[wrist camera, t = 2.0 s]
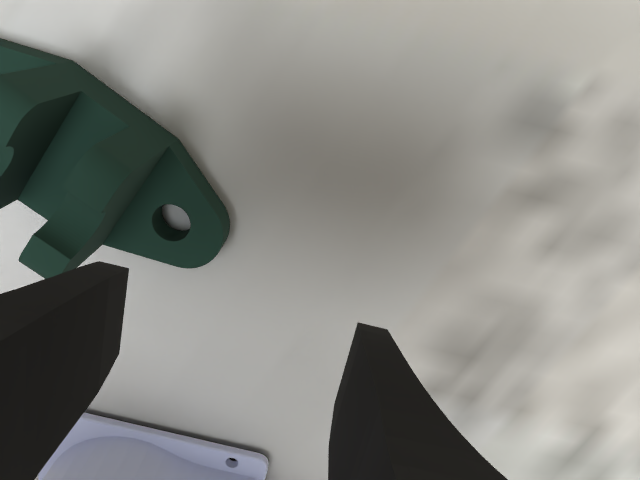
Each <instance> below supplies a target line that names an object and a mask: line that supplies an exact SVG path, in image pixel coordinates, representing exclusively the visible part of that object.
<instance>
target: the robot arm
mask: <svg viewBox="0 0 640 480" xmlns="http://www.w3.org/2000/svg"><path fill="white" fill-rule="evenodd" d="M128 272H129V268H125V267H121V266H117V265H112V264H108V263H104V262H100V261H99V262H95V263H91V264H88V265H84V266H81V267H78V268H75V269H73V270H70V271H67V272H64V273H61V274H58V275H56V276H53V277H50V278H47V279H44V280H41V281H38V282H36V283H33V284H30V285H27V286H24V287H21V288H18V289H15V290H12V291H9V292H5V293H2V294H0V480H34V479H35V478H36V477H37V475H38V480H265V478H266V474H267V470H268V466H269V461H268V459H267V458H266V457H265V456H264V455H263V454H260V453H256V452H252V451H248V450H244V449H239V448H235V447H231V446H226V445H222V444H218V443H213V442H209V441H205V440H201V439H196V438H192V437H188V436H183V435H179V434H175V433H170V432H166V431H162V430H157V429H153V428H149V427H145V426H140V425H136V424H132V423H127V422H123V421H119V420H114V419H110V418H106V417H102V416H97V415H93V414H89V413H84V412H85V410H86V409H87V407H88V406H89V405H90V403H91V402H92V401H93V399H94V398H95V396H96V395H97V393H98V392H99V390H100V388H101V386H102V385H103V383H104V381H105V379H106V377H107V376H108V374H109V372H110V370H111V368H112V366H113V364H114V362H115V360H116V358H117V356H118V355H119V350H120V341H121V333H122V324H123V315H124V307H125V298H126V290H127V281H128ZM229 458H234V459H236V460H237V461H232V460H230V459H229ZM328 480H507V479H506V478H505V477H504V476H503V475H502V474H501V473H500V472H498V471H497V470H496V469H495V468H494V467H493V466H492V465H491V464H490V463H489V462H488V461H487V460H486V459H485V458H483V457H482V456H481V455H480V454H479V453H478V451H477V450H476V449H475V448H474V447H473V446H472V445H471V444H470V443H469V442H468V441H467V440H466V439H465V438H464V437H463V436H462V435H461V433H460V432H459V431H458V430H457V429H456V428H455V427H454V426H453V424H452V423H451V422H450V421H449V420H448V418H447V417H446V416H445V415H444V413H443V412H442V411H441V410H440V408H439V407H438V406H437V404H436V403H435V402H434V401H433V399H432V398H431V397H430V395H429V394H428V392H427V391H426V390H425V388H424V387H423V385H422V384H421V383H420V381H419V380H418V378H417V377H416V375H415V374H414V372H413V371H412V369H411V367H410V366H409V364H408V363H407V361H406V360H405V358H404V356H403V355H402V353H401V351H400V350H399V348H398V346H397V345H396V343H395V341H394V340H393V338H392V336H391V335H390V333H389V332H388V330H387V329H383V328H379V327H374V326H370V325H366V324H362V323H358V324H357V327H356V331H355V334H354V338H353V341H352V345H351V348H350V352H349V355H348V359H347V362H346V366H345V369H344V373H343V376H342V379H341V383H340V386H339V390H338V393H337V397H336V400H335V404H334V411H333V418H332V425H331V433H330V441H329V462H328Z"/></svg>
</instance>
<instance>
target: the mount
mask: <svg viewBox="0 0 640 480" xmlns="http://www.w3.org/2000/svg"><path fill="white" fill-rule="evenodd" d="M17 199H18V200H19V201H21V202H22V203H23V204H25V205H26V206H28V207H29V208H31V209H32V210H34V211H35V212H37V213H38V214H40V215H41V216H42V217H44V218H45V219H47V220H48V221H47V222H46V223H45V224H44V225H43V226H42V227H41V228H40V229H39V230H38V231H37V232H36V233H34V234H33V235H32V237H31V239H30V240H29V242H28V244H27V245H26V247H25V248H24V250H23V252H22V253H21V255H20V257H19V262H21V263H22V264H24V265H26V266H27V267H29V268H30V269H32V270H33V271H35V272H36V273H38V274H39V275H41V276H42V277H44V278H45V279H47V278H50V277H53V276H56V275H58V274H61V273H64V272H67V271H70V270H73V269H75V268H77V267H78V266H79V265H80V264H81V263H82V262H83V261H85V260H86V259H87V258H88V257H89V256H90V255H91V254H92V253H93V252H95V251H96V250H97V249H98V248H99V247H100V246H101V245H106V246H109V247H113V248H116V249H119V250H123V251H126V252H129V253H133V254H136V255H140V256H143V257H146V258H150V259H153V260H156V261H160V262H163V263H166V264H170V265H173V266H177V267H181V268H197V267H200V266H203V265H205V264H207V263H209V262H210V261H211V260H213V259H214V258H215V257H216V255H217V254H218V252H219V251H220V249H221V247H222V246H223V244H224V242H225V241H226V239H227V237H228V234H229V229H230V221H229V216H228V213H227V210H226V208H225V206H224V205H223V203H222V202H221V200H220V199H219V197H218V196H217V194H216V193H215V191H214V190H213V189H212V187H211V186H210V184H209V183H208V181H207V180H206V178H205V177H204V175H203V174H202V172H201V171H200V170H199V168H198V167H197V165H196V164H195V162H194V161H193V159H192V158H191V156H190V155H189V153H188V152H187V151H186V149H185V148H184V146H183V145H182V143H181V142H180V140H179V139H178V138H177V137H175V136H174V135H172V134H171V133H170V132H168V131H167V130H166V129H164V128H163V127H162V126H160V125H159V124H158V123H156V122H155V121H154V120H152V119H151V118H150V117H148V116H147V115H145V114H144V113H143V112H141V111H140V110H139V109H137V108H136V107H135V106H133V105H132V104H131V103H129V102H128V101H127V100H125V99H124V98H123V97H121V96H120V95H119V94H117V93H116V92H114V91H113V90H112V89H110V88H109V87H108V86H106V85H105V84H104V83H102V82H101V81H100V80H98V79H97V78H96V77H94V76H93V75H92V74H90V73H89V72H87V71H86V70H85V69H83V68H82V67H81V66H79V65H78V64H77V63H75V62H74V61H72V60H69V59H66V58H62V57H59V56H56V55H53V54H49V53H46V52H43V51H40V50H36V49H33V48H30V47H27V46H23V45H20V44H17V43H14V42H10V41H7V40H4V39H1V38H0V209H1V208H3V207H5V206H6V205H8V204H10V203H12V202H14V201H15V200H17ZM166 204H172V205H176V206H178V207H180V208H182V209H183V210H184V211H185V212H186V213H187V215H188V216H189V219H190V223H191V227H190V229H189V230H185V231H180V230H175V229H173V228H171V227H170V226H169V225H168V224H167V223H166V222H165V221H164V219H163V216H162V206H163V205H166Z"/></svg>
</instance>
